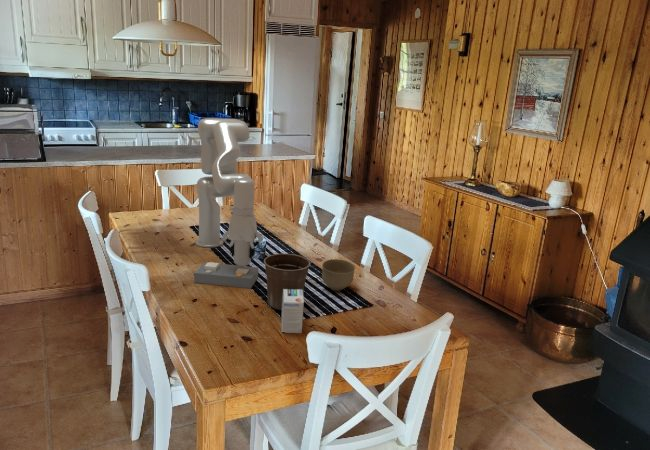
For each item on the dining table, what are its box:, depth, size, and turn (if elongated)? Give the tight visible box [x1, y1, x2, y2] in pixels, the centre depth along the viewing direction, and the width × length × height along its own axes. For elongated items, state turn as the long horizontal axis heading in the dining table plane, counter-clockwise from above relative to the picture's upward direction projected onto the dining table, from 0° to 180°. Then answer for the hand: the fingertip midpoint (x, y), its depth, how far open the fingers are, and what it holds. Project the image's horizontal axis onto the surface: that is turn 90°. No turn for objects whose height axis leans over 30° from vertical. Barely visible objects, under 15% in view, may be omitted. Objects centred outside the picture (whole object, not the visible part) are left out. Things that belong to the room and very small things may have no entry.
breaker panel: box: [193, 261, 259, 289], centre depth 205 cm, size 12×22×5 cm, turn 84°
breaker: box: [205, 261, 220, 271], centre depth 205 cm, size 4×4×3 cm
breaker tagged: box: [235, 268, 249, 275], centre depth 204 cm, size 4×4×3 cm
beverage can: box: [233, 236, 252, 266], centre depth 201 cm, size 6×6×12 cm
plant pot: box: [263, 253, 311, 311], centre depth 186 cm, size 16×16×16 cm
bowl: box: [321, 258, 356, 291], centre depth 202 cm, size 13×13×10 cm
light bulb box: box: [280, 289, 305, 334], centre depth 171 cm, size 11×7×11 cm, turn 5°
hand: (242, 255), depth 202 cm, fingers closed on beverage can, 6 cm apart
